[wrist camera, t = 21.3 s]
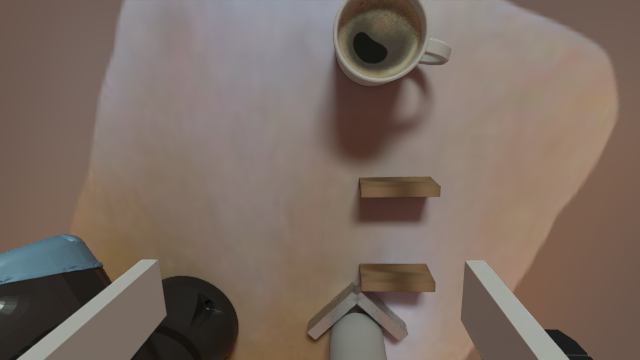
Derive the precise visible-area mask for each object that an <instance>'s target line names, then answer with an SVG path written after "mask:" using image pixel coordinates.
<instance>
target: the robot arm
mask: <svg viewBox="0 0 640 360" xmlns="http://www.w3.org/2000/svg"><path fill="white" fill-rule="evenodd" d="M461 321H462V323H463V325H464V326H465V328H466V330H467V332H468V334H469V336H470V338H471V340H472V342H473V343H474V345H475V347H476V349H477V351H478V353H479V355H480V357H481V359H482V360H593V359H592V358H591V357H588V354H587V353H586V352H585V351H584V350H583V349H582V348H581V347H580V346H579V344H578V343H577V342H576V341H574V340H573V339H571V338H570V337H568V336H567V335H565V334H564V333H562V332H561V331H559V330H546V329H543V328H542V327H541V326H540V325H539V324H538V322H537V321H536V320H535V319H534V318H533V317H532V315H531V314H530V313H529V312H528V311H527V310H526V309H525V307H524V306H523V305H522V304H521V303H520V302H519V300H518V299H517V298H516V297H515V296H514V295H513V293H512V292H511V291H510V290H509V289H508V288H507V286H506V285H505V284H504V283H503V282H502V281H501V279H500V278H499V277H498V276H497V275H496V274H495V273H494V271H493V270H492V269H491V268H490V267H489V266H488V264H487V263H486V262H485V261H465V269H464V283H463V297H462V310H461ZM237 333H238V320H237V315H236V312H235V310H234V307H233V306H232V304H231V302H230V301H229V299H228V298H227V297H226V296H225V295H224V294H223V293H222V292H221V291H220V290H219V289H218V288H216V287H215V286H214V285H212V284H210V283H208V282H206V281H204V280H201V279H198V278H195V277H189V276H175V277H170V278H166V279H163V280H161V274H160V267H159V260H140V261H139V262H138V263H137V264H135V265H134V266H133V267H132V268H130V269H129V270H128V271H127V272H125V273H124V274H123V275H122V276H120V277H119V278H118V279H117V280H115V281H114V282H113V283H112V282H111V280H110V279H109V277H108V275H107V274H106V272H105V270H104V269H103V264H102V263H101V262H98V260H97V259H96V258H95V256H94V255H93V254H92V252H91V251H90V250H89V248H88V247H87V245H86V244H85V243H84V241H83V240H82V239H80V238H79V237H77V236H74V235H69V234H63V235H58V236H54V237H50V238H47V239H44V240H40V241H38V242H35V243H31V244H28V245H25V246H23V247H19V248H16V249H14V250H11V251H8V252H5V253H2V254H0V360H225V359H226V358H227V356H228V355H229V353H230V351H231V349H232V347H233V345H234V343H235V340H236V337H237Z"/></svg>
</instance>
